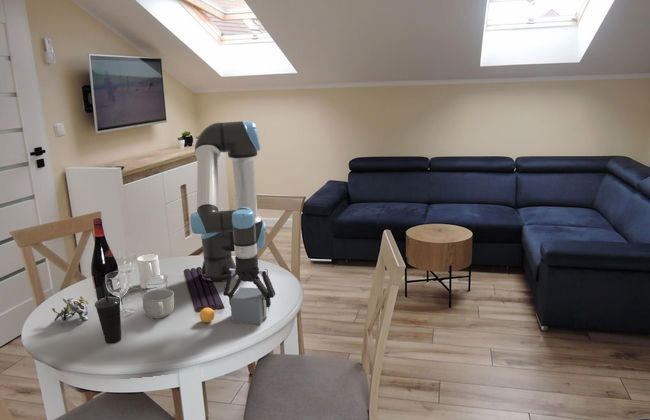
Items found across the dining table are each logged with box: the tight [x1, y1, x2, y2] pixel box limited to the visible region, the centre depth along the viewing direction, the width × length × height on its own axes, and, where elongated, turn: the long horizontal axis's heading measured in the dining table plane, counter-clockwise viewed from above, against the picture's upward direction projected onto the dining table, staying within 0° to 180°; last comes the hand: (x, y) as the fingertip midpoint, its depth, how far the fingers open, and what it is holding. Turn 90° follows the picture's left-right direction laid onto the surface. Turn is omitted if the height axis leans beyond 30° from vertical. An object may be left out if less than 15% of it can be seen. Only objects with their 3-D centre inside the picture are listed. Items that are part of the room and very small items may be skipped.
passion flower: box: [51, 296, 89, 326], centre depth 179 cm, size 11×11×12 cm
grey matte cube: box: [229, 287, 270, 326], centre depth 178 cm, size 10×10×9 cm
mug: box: [136, 253, 161, 290], centre depth 207 cm, size 12×8×12 cm
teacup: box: [141, 288, 175, 319], centre depth 181 cm, size 14×11×8 cm
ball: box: [199, 307, 216, 323], centre depth 176 cm, size 5×5×5 cm
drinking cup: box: [94, 282, 122, 345], centre depth 164 cm, size 8×8×20 cm
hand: (250, 314), depth 179 cm, fingers open, 11 cm apart
